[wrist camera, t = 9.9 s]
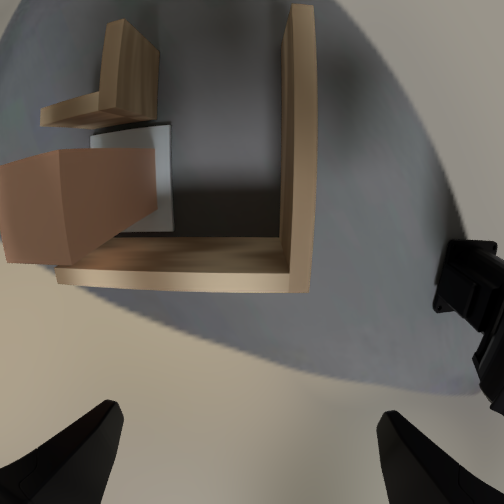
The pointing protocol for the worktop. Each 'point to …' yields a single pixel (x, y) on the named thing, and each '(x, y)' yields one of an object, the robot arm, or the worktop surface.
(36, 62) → the worktop surface
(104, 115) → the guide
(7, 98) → the worktop surface
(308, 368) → the worktop surface
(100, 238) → the peg
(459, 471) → the robot arm
